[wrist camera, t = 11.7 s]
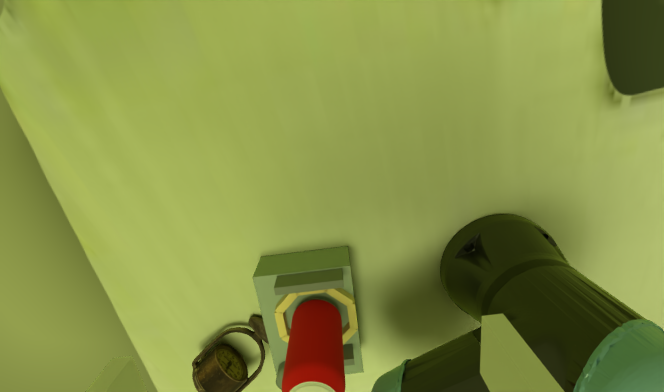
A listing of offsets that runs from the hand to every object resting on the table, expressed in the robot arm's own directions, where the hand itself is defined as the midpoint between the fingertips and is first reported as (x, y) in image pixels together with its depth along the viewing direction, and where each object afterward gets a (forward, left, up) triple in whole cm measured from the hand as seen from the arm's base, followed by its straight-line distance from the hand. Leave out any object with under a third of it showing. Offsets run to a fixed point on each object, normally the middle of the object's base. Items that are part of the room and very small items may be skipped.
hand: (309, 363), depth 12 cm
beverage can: (+3, +17, -24) cm, 29 cm away
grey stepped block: (+4, +19, -29) cm, 35 cm away
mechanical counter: (+16, +25, -29) cm, 42 cm away
